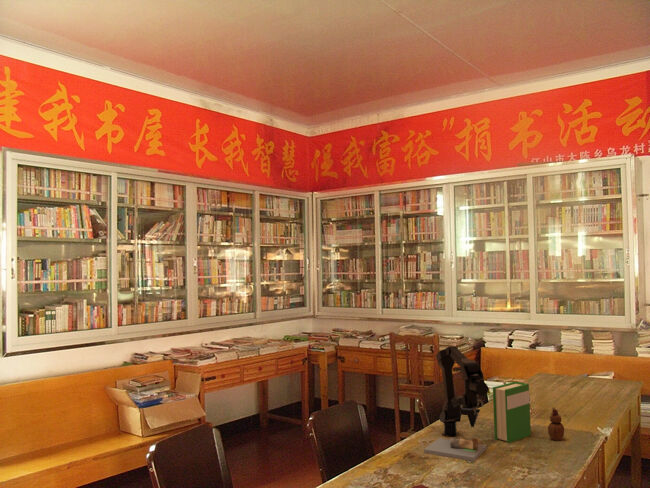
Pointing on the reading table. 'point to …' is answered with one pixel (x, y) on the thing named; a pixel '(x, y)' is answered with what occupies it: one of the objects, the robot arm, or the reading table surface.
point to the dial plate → (454, 450)
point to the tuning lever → (464, 443)
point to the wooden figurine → (555, 426)
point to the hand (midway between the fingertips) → (472, 426)
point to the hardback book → (511, 411)
